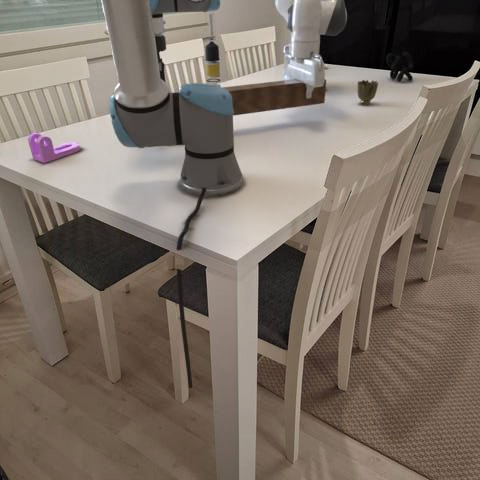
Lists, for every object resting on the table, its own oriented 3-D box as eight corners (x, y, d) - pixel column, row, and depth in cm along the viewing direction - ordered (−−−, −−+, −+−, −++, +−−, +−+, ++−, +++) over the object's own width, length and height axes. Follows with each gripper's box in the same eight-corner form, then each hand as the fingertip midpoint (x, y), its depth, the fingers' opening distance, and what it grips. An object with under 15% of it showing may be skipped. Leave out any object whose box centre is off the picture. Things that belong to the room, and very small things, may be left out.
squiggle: (400, 92, 202) (376, 71, 205) (417, 76, 202) (392, 56, 205) (405, 81, 191) (380, 59, 194) (423, 64, 191) (397, 42, 194)
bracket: (44, 163, 123) (37, 138, 119) (33, 158, 126) (26, 134, 122) (83, 149, 132) (78, 126, 128) (72, 145, 135) (67, 122, 131)
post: (140, 128, 128) (136, 101, 124) (136, 123, 132) (132, 97, 128) (324, 103, 148) (326, 79, 144) (315, 99, 152) (317, 76, 148)
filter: (222, 96, 181) (219, 14, 165) (209, 97, 179) (205, 14, 164) (218, 93, 186) (215, 12, 170) (205, 94, 184) (200, 13, 168)
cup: (352, 105, 167) (355, 83, 163) (357, 100, 172) (360, 79, 168) (372, 107, 164) (375, 85, 160) (377, 102, 169) (380, 80, 165)
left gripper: (173, 37, 114) (181, 127, 125) (156, 31, 128) (165, 112, 140) (144, 39, 111) (155, 131, 123) (130, 32, 126) (141, 115, 138)
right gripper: (331, 54, 131) (327, 101, 139) (298, 44, 148) (296, 87, 155) (313, 56, 130) (310, 104, 137) (281, 46, 146) (280, 89, 153)
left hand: (160, 120), depth 132 cm, fingers closed on post, 5 cm apart
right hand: (302, 95), depth 146 cm, fingers closed on post, 5 cm apart
